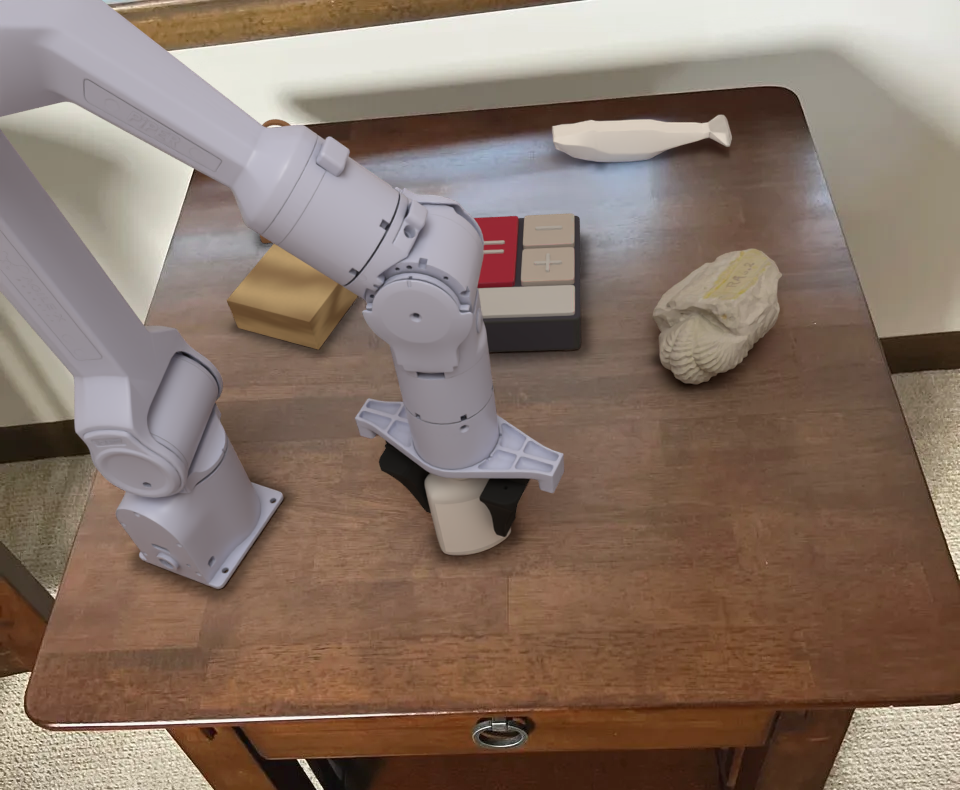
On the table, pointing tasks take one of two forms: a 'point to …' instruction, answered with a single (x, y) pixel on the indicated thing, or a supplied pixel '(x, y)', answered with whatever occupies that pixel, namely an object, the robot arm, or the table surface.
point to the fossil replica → (717, 314)
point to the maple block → (289, 300)
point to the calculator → (531, 282)
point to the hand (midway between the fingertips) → (470, 514)
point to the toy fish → (634, 138)
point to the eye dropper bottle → (460, 515)
